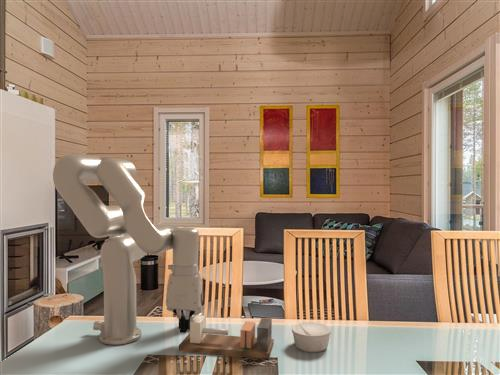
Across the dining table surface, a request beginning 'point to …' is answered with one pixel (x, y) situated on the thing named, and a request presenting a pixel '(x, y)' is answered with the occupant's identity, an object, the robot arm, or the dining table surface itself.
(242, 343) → the block
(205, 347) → the base
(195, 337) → the plunger
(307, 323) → the ramekin
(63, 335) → the dining table surface
